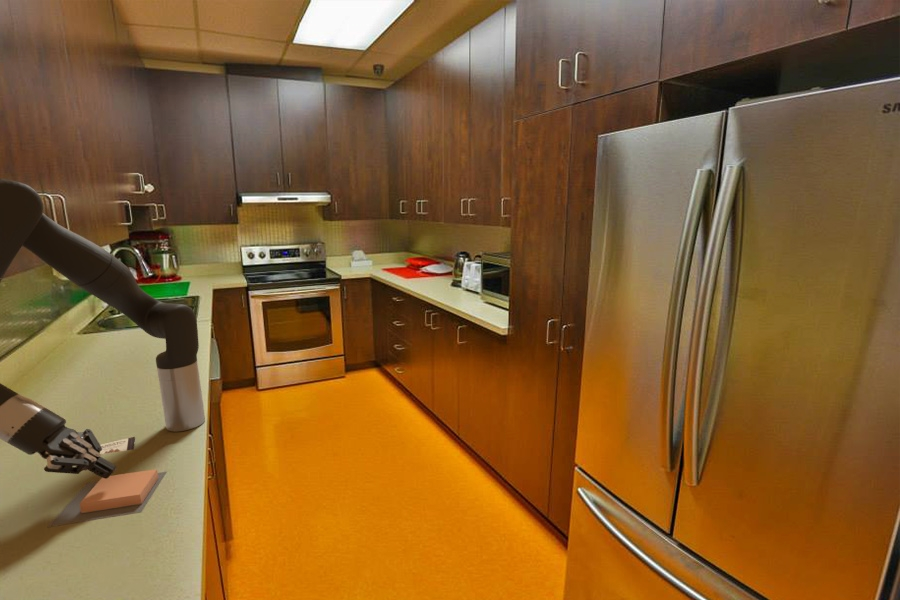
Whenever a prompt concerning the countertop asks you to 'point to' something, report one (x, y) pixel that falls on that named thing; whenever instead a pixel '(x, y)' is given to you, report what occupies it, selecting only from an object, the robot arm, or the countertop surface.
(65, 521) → the mat
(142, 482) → the tile
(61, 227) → the robot arm
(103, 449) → the chocolate bar
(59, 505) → the countertop surface
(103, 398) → the countertop surface
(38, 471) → the countertop surface
